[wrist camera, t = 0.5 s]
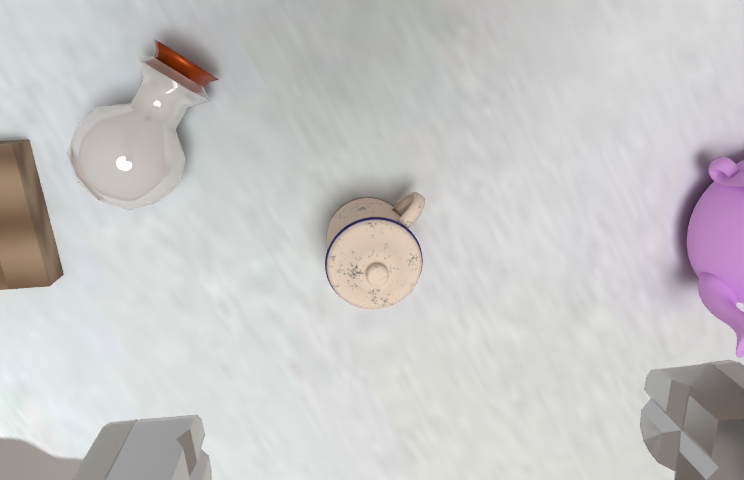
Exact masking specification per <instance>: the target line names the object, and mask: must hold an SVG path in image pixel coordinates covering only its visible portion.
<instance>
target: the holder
mask: <svg viewBox="0 0 744 480" xmlns="http://www.w3.org/2000/svg"><path fill="white" fill-rule="evenodd" d="M62 275H64V274H63V271H62V267H61V263H60V259H59V255H58V251H57V247H56V243H55V239H54V235H53V231H52V227H51V224H50V220H49V216H48V212H47V208H46V204H45V200H44V196H43V192H42V188H41V184H40V180H39V176H38V173H37V169H36V165H35V161H34V157H33V153H32V149H31V145H30V141H29V140H21V141H3V142H0V290H5V289H18V288H32V287H45V286H50V285H52V284H53V283H54V282H55V281H56V280H58V279H59V278H60V277H61V276H62Z"/></svg>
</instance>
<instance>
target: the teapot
mask: <svg viewBox="0 0 744 480" xmlns="http://www.w3.org/2000/svg"><path fill="white" fill-rule="evenodd" d="M708 172H709V175H710V177H711V178H712V179H713V180H714V182H713V183H712V184H711V185H710V186H709V187H708V188H707V189H706V191H705V192H704V193H703V194H702V196H701V198H700V199H699V201H698V202H697V204H696V206H695V208H694V210H693V213H692V215H691V218H690V222H689V226H688V233H687V251H688V257H689V260H690V263H691V266H692V268H693V270H694V271H695V273H696V275H697V276H698V277H699V283H698V290H699V296H700V298H701V300H702V302H703V304H704V305H705V307H706V308H707V309H708V310H709V311H710V312H711V313H712V314H713V315H715V316H716V317H717V318H719V319H720V320H722V321H723V322H725V323H726V324H728V325H729V326H730V327H731V328H732V329H733V330H734V331H735V333H736V335H737V347H736V355H737V357H739V358H741V357H743V356H744V312H742V311H741V310H740V309H738V308H737V307H736V302H740V303H744V160H742V161H740V162H738V163H737V164H735V162H733V161H732V160H731V159H729V158H728V157H719V158H717V159H715V160H713V161H712V162H711V163H710V165H709V170H708Z"/></svg>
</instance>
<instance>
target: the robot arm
mask: <svg viewBox="0 0 744 480" xmlns="http://www.w3.org/2000/svg"><path fill="white" fill-rule="evenodd" d="M644 390H645V391H646V393H647V394H648V395H649V397H650V398H651V399H650V400H649V401H648V403H647V404H646V405H645V406H644V407H643V409H642V410H641V419H640V428H641V432H642V436H643V441H644V443H645V445H646V446H647V448H648V450H649V452H650V453H651V455H652V456H653V457H654V458H655V459H656V461H657V462H658V463H660V464H662V465H664V466H666V467H668V468H669V469H671V470H673V471H674V480H744V365H742V364H741V363H739V362H735V361H732V360H725V361H717V362H709V363H703V364H700V365H691V366H682V367H673V368H664V369H655V370H650V372H649V374H648V375H647V377H646V382H645V388H644ZM204 437H205V432H204V428H203V423H202V419H201V418H200V417H199V416H198V415H189V416H177V417H164V418H151V419H140V420H128V421H118V422H110V423H108V424H106V425H105V426H104V427H103V428H102V429H101V431H100V433H99V434H98V436H97V438H96V439H95V441H94V443H93V444H92V446H91V448H90V449H89V451H88V453H87V454H86V456H85V458H84V459H83V461H82V463H81V464H80V466H79V468H78V469H77V471H76V473H75V474H74V476H73V478H72V479H71V480H212V475H211V465H210V459H209V455H207V454H206V453H205V452H204V451H203V450H202V449H201V447H202V443H203V440H204Z"/></svg>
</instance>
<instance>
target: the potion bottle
mask: <svg viewBox="0 0 744 480" xmlns="http://www.w3.org/2000/svg"><path fill="white" fill-rule="evenodd" d="M155 44H156V49H157V50H156V55H155V57H154V56H146V57H139V61H140V66H141V72H142V77H143V81H142V83H141V85H140V87H139V88H138V90H137V92H136V94H135V96H134V97H133V99H132V101H131V103H126V104H118V105H109V106H100V107H95V108H94V109H93V110H92V111H91V112H90V113H89V114H88V115H87V116H86V117H85V118H84V119H83V120H82V122H81V123H80V124H79V125H78V126H77V127H76V129H75V132H74V135H73V138H72V141H71V143H70V146H69V149H68V152H67V155H68V158H69V160H70V163H71V166H72V168H73V171H74V173H75V176H76V179H77V181H78V183H79V184H80V185H81V186H83V187H84V188H85V189H86V190H87V191H88V192H90V193H91V194H92V195H93V196H94V197H95V198H97V199H98V200H100V201H102V202H105V203H108V204H111V205H114V206H118V207H121V208H124V209H128V210H134V209H137V208H140V207H144V206H147V205H150V204H154V203H157V202H159V201H160V200H161V199H162V198H163V197H165V196H166V195H167V194H168V193H169V192H171V191H172V190H173V189H174V188H175V187H177V186H178V185H179V184H180V180H181V176H182V173H183V169H184V165H185V162H186V157H185V154H184V151H183V148H182V146H181V143H180V140H179V137H178V134H177V132H176V128H177V127H178V125H179V123H180V121H181V119H182V118H183V116H184V114H185V112H186V111H187V109H188V107H191V106H195V105H198V104H201V103H205V102H208V101H210V99H209V97H208V95H207V93H206V91H205V90H204V88H203V86H205V85H206V84H207V83H208V82H210V81H214V80H218V78H216V77H214V76H213V75H211V74H210V73H208V72H206V71H205V70H203V69H202V68H200V67H198V66H197V65H195V64H194V63H192V62H191V61H189V60H187V59H186V58H184V57H183V56H181V55H179V54H178V53H176V52H175V51H173V50H171V49H170V48H168V47H166V46H165V45H163V44H162V43H160V42H158V41H157V40H155Z"/></svg>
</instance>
